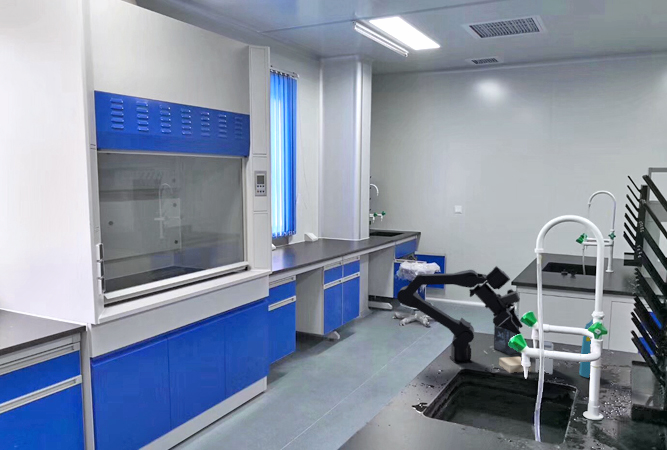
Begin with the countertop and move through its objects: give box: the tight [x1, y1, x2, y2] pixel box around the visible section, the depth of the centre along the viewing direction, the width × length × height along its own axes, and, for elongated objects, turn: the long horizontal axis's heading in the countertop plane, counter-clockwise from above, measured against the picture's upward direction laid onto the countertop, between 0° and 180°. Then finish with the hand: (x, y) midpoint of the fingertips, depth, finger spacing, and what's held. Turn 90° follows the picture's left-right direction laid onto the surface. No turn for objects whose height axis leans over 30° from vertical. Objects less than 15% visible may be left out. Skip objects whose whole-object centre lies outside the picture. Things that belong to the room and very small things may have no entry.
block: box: [498, 356, 532, 374], centre depth 182 cm, size 8×8×3 cm
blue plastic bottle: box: [578, 318, 594, 379], centre depth 173 cm, size 7×5×19 cm, turn 144°
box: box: [493, 323, 520, 355], centre depth 200 cm, size 8×6×11 cm
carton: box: [534, 340, 554, 375], centre depth 179 cm, size 6×6×10 cm
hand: (520, 330), depth 182 cm, fingers open, 9 cm apart
